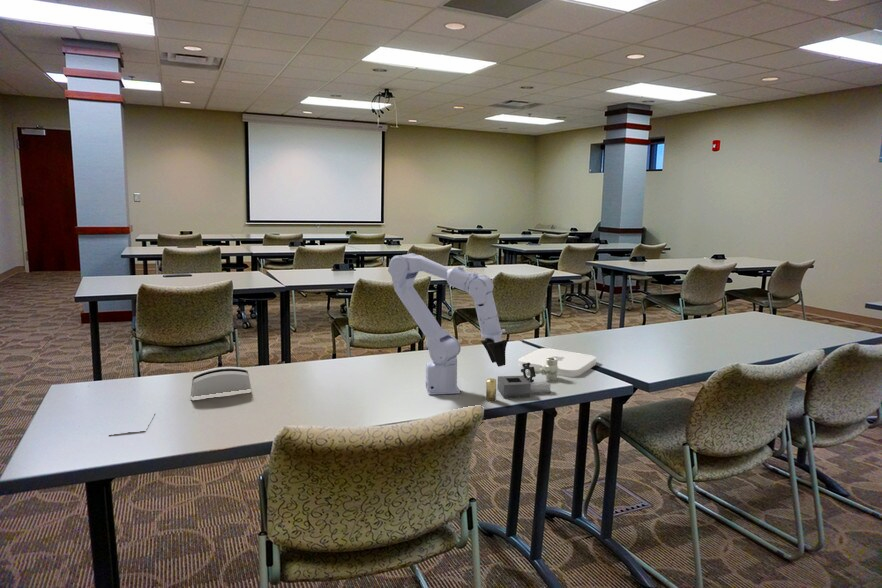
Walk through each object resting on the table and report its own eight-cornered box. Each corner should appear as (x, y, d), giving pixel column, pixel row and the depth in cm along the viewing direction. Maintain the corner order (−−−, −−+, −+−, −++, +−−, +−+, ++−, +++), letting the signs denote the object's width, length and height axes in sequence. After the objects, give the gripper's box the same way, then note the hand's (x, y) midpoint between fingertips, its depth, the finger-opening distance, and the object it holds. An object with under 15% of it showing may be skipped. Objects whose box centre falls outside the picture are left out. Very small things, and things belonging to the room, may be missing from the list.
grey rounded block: (250, 387, 169) (249, 361, 165) (252, 397, 166) (252, 370, 161) (190, 395, 162) (188, 368, 158) (191, 406, 159) (189, 377, 154)
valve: (549, 374, 184) (520, 380, 178) (550, 355, 182) (520, 360, 177) (562, 380, 178) (532, 386, 172) (563, 360, 177) (533, 365, 171)
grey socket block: (503, 398, 161) (503, 384, 160) (497, 389, 169) (497, 376, 168) (553, 396, 163) (553, 382, 162) (544, 387, 171) (545, 374, 170)
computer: (515, 367, 192) (515, 360, 192) (541, 354, 210) (542, 347, 210) (575, 379, 180) (575, 371, 179) (598, 363, 198) (599, 356, 197)
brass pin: (487, 401, 158) (487, 381, 157) (485, 398, 161) (485, 378, 160) (496, 401, 158) (497, 381, 157) (494, 398, 161) (495, 378, 160)
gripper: (507, 316, 151) (518, 363, 152) (495, 313, 166) (505, 357, 166) (482, 322, 151) (493, 370, 151) (473, 318, 165) (483, 362, 166)
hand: (498, 363), depth 159 cm, fingers open, 7 cm apart
